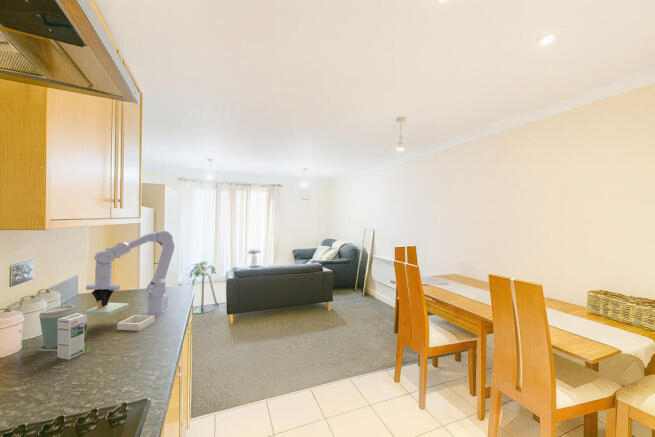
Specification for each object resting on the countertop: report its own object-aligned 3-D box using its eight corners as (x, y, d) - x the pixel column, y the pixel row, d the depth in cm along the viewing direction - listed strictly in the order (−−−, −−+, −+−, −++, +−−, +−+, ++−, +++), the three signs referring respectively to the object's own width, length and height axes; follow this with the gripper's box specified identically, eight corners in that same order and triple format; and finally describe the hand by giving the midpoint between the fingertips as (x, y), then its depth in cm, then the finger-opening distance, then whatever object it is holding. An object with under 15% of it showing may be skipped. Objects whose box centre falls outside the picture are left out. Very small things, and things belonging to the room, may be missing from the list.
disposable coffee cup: (28, 352, 97) (29, 312, 97) (58, 338, 107) (59, 302, 107) (56, 353, 97) (57, 313, 96) (84, 339, 107) (85, 303, 107)
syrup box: (69, 360, 92) (70, 319, 92) (56, 357, 93) (57, 318, 93) (86, 352, 98) (87, 314, 98) (74, 349, 99) (75, 312, 99)
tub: (134, 321, 126) (134, 314, 126) (154, 322, 125) (154, 315, 125) (117, 330, 116) (117, 323, 116) (139, 331, 115) (139, 324, 115)
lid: (106, 305, 127) (106, 296, 127) (129, 306, 126) (129, 297, 126) (84, 314, 115) (84, 303, 115) (109, 315, 115) (109, 305, 115)
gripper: (79, 277, 117) (79, 307, 117) (111, 279, 117) (110, 308, 117) (94, 274, 124) (93, 302, 124) (123, 275, 124) (123, 303, 124)
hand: (102, 305), depth 121 cm, fingers closed on lid
